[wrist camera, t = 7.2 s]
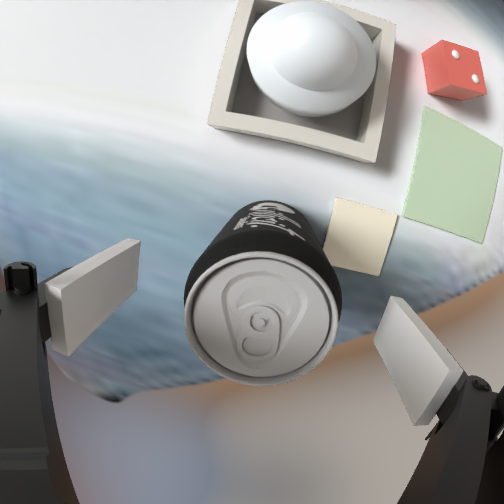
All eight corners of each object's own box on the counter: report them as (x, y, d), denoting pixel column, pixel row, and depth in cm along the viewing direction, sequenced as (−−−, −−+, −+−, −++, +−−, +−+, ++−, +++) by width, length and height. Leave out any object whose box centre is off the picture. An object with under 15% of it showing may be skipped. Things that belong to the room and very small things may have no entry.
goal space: (423, 106, 18) (425, 105, 18) (500, 147, 18) (502, 147, 18) (401, 215, 21) (403, 216, 20) (480, 242, 20) (482, 243, 20)
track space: (335, 197, 21) (336, 197, 20) (396, 214, 21) (397, 214, 20) (318, 261, 22) (319, 262, 22) (377, 274, 22) (378, 276, 22)
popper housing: (246, 3, 17) (243, -13, 14) (385, 36, 17) (396, 24, 14) (214, 128, 20) (207, 123, 17) (364, 162, 20) (375, 162, 17)
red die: (421, 53, 17) (442, 39, 13) (455, 62, 16) (478, 51, 13) (428, 93, 18) (451, 84, 14) (462, 100, 17) (487, 94, 14)
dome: (262, 11, 15) (258, -28, 10) (369, 36, 15) (394, 5, 10) (239, 104, 18) (227, 84, 13) (353, 131, 17) (380, 120, 13)
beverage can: (319, 206, 21) (369, 255, 9) (304, 290, 23) (325, 400, 11) (228, 193, 21) (174, 228, 10) (220, 278, 23) (173, 379, 12)
